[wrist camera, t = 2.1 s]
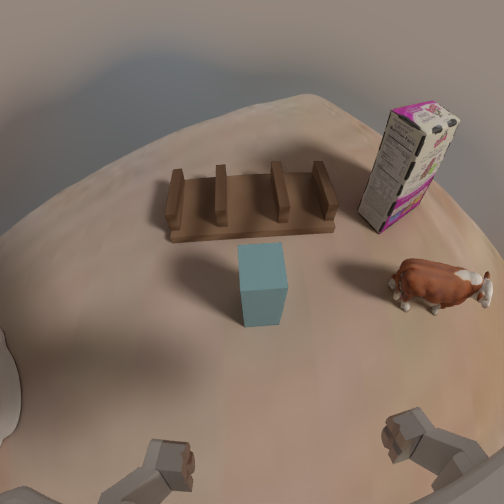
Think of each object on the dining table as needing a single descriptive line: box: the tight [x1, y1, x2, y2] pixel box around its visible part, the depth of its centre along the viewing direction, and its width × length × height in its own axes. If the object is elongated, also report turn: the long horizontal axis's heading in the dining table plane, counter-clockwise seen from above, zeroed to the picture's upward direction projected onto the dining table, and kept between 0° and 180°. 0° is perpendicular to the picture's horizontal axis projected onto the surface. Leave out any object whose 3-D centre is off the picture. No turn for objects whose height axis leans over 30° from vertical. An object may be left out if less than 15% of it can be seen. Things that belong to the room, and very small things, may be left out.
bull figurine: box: [388, 258, 493, 316], centre depth 25 cm, size 4×13×8 cm, turn 70°
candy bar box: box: [357, 101, 460, 234], centre depth 29 cm, size 11×5×16 cm, turn 123°
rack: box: [165, 161, 339, 243], centre depth 34 cm, size 20×10×4 cm, turn 94°
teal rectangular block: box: [238, 242, 288, 327], centre depth 25 cm, size 4×4×9 cm
